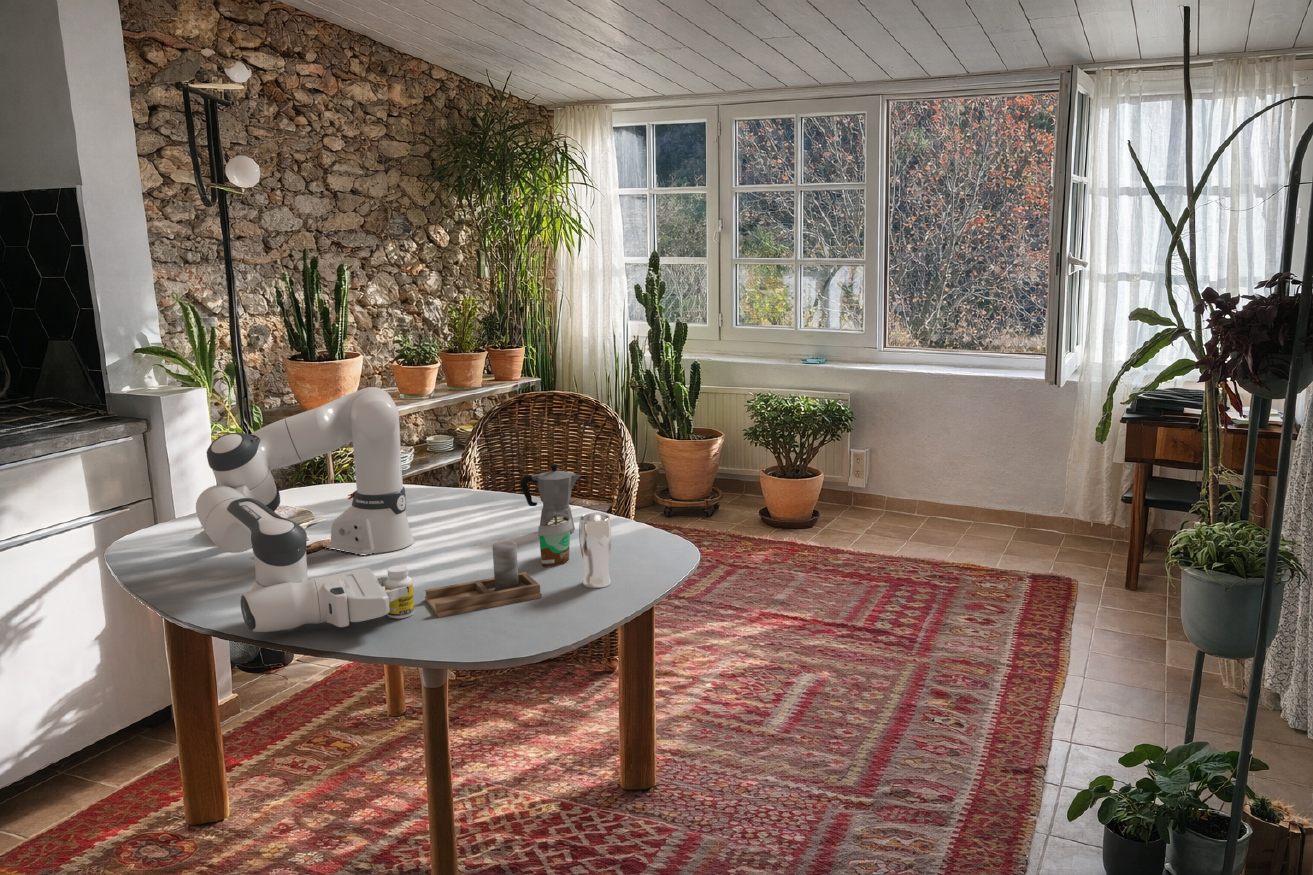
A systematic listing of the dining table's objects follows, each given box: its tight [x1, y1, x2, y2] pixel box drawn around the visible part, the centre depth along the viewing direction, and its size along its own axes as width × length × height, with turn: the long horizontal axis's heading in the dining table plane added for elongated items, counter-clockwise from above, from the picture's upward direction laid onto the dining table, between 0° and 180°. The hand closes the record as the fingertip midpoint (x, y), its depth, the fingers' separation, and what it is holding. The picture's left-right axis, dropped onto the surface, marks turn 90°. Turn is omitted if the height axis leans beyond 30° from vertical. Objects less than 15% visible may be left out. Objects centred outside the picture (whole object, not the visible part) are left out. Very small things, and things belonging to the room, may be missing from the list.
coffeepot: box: [519, 463, 581, 535], centre depth 245 cm, size 15×9×18 cm, turn 103°
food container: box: [537, 513, 573, 568], centre depth 224 cm, size 12×6×10 cm, turn 168°
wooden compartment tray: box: [424, 541, 543, 618], centre depth 201 cm, size 22×11×11 cm, turn 117°
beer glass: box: [578, 512, 612, 589], centre depth 208 cm, size 7×7×15 cm
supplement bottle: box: [384, 565, 415, 619], centre depth 194 cm, size 5×5×10 cm
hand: (403, 585), depth 194 cm, fingers closed on supplement bottle, 5 cm apart
